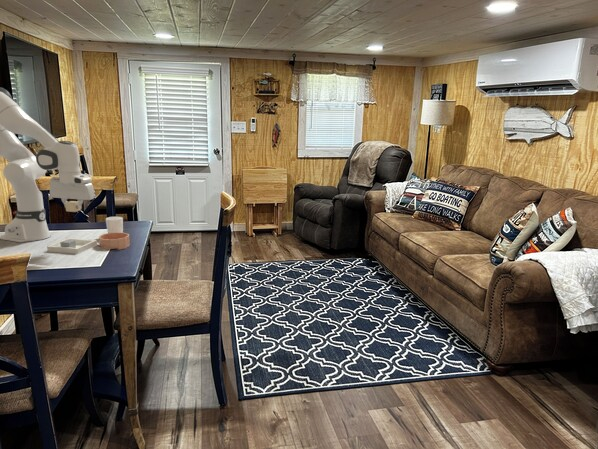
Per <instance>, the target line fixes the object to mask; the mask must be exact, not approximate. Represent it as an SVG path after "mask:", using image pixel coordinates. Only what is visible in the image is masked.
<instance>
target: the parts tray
mask: <svg viewBox="0 0 598 449" xmlns="http://www.w3.org/2000/svg"><path fill="white" fill-rule="evenodd" d="M65 240H75V245H76V248H70V247H61V244H60V242H62V241H65ZM96 246H98V241H97V240H96V239H85V238H84V239H83V238H73V237H72V238H71V237H70V238H69V237H68V238H65V239H63V240H60V241H57V242H55V243H52V244H50V245H48V246H47V247H46V249H47V252H52V253H62V254H63V253H66V254H77V255H79V254H81V253H83V252H85V251H88V250H89V249H92V248H94V247H96Z"/></svg>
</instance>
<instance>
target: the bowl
mask: <svg viewBox="0 0 598 449" xmlns="http://www.w3.org/2000/svg"><path fill="white" fill-rule="evenodd" d="M98 242H99V243H98V245H99V247H100V248H102V249H107V250H113V249H116V251H118V250H119V251H121V250H124V249H127V248H129V247H130V246H131V245H130V243H131V242H130V234H129V233H126V232H123V233H122V232H115V233H108V232H107V233H104V234H103V233H102V234H100V235H99V236H98Z"/></svg>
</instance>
